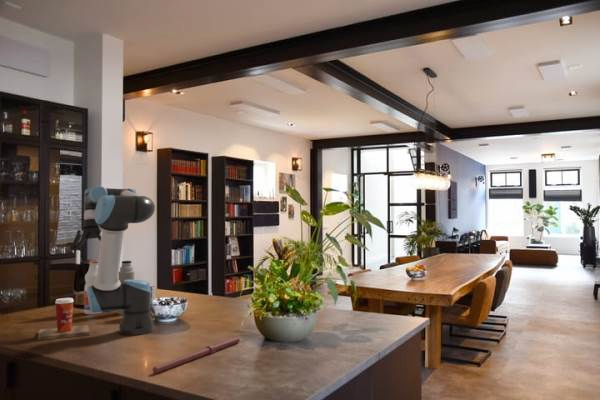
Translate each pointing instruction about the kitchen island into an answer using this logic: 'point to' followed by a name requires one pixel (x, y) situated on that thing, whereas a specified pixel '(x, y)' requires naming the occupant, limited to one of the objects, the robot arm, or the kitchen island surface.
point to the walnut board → (54, 334)
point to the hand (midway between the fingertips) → (91, 262)
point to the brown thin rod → (194, 355)
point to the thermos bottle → (125, 275)
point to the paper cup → (64, 314)
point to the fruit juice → (90, 284)
